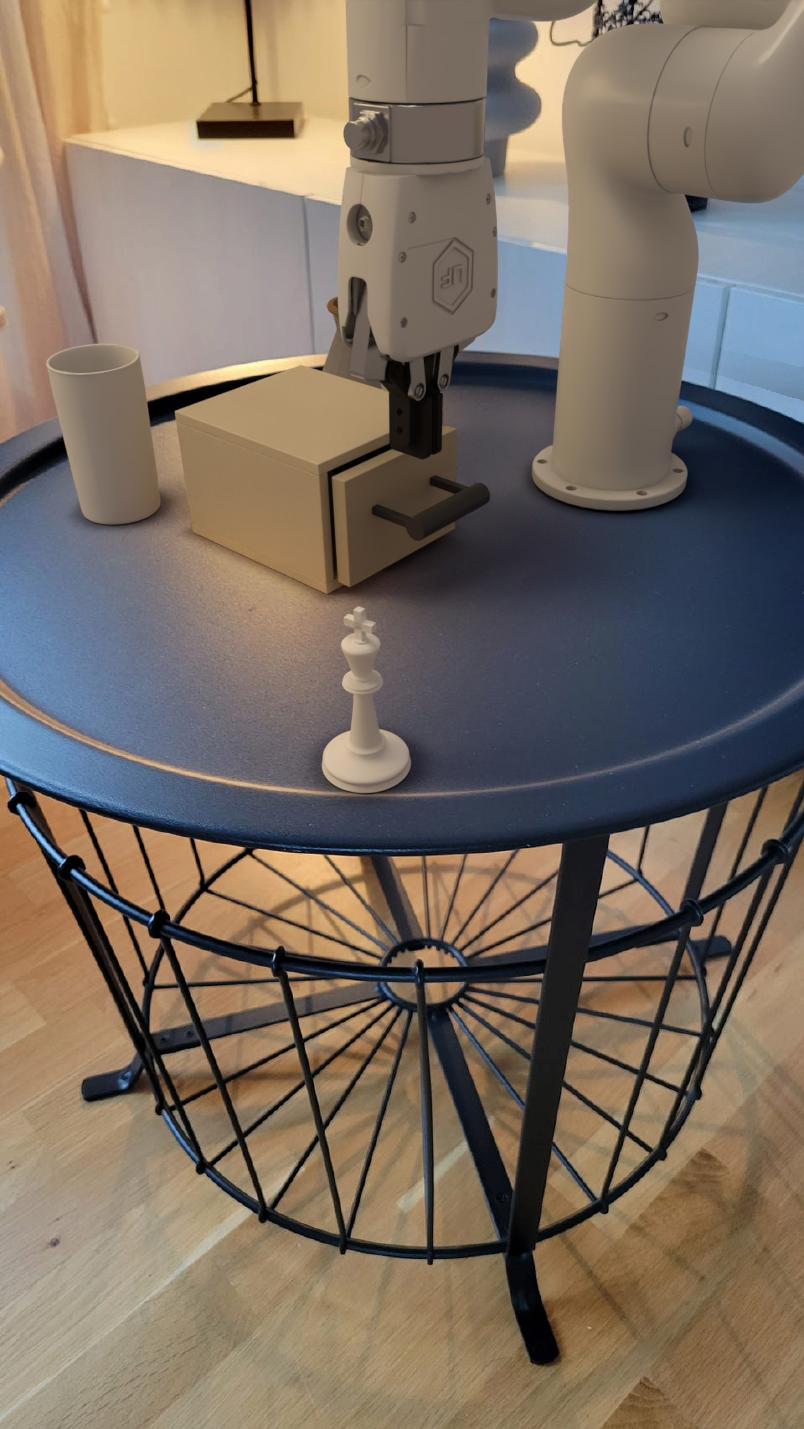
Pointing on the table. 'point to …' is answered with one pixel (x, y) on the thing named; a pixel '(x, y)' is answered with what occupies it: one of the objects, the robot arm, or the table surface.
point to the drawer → (395, 506)
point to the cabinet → (278, 465)
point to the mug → (106, 431)
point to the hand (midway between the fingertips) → (415, 450)
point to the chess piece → (364, 722)
